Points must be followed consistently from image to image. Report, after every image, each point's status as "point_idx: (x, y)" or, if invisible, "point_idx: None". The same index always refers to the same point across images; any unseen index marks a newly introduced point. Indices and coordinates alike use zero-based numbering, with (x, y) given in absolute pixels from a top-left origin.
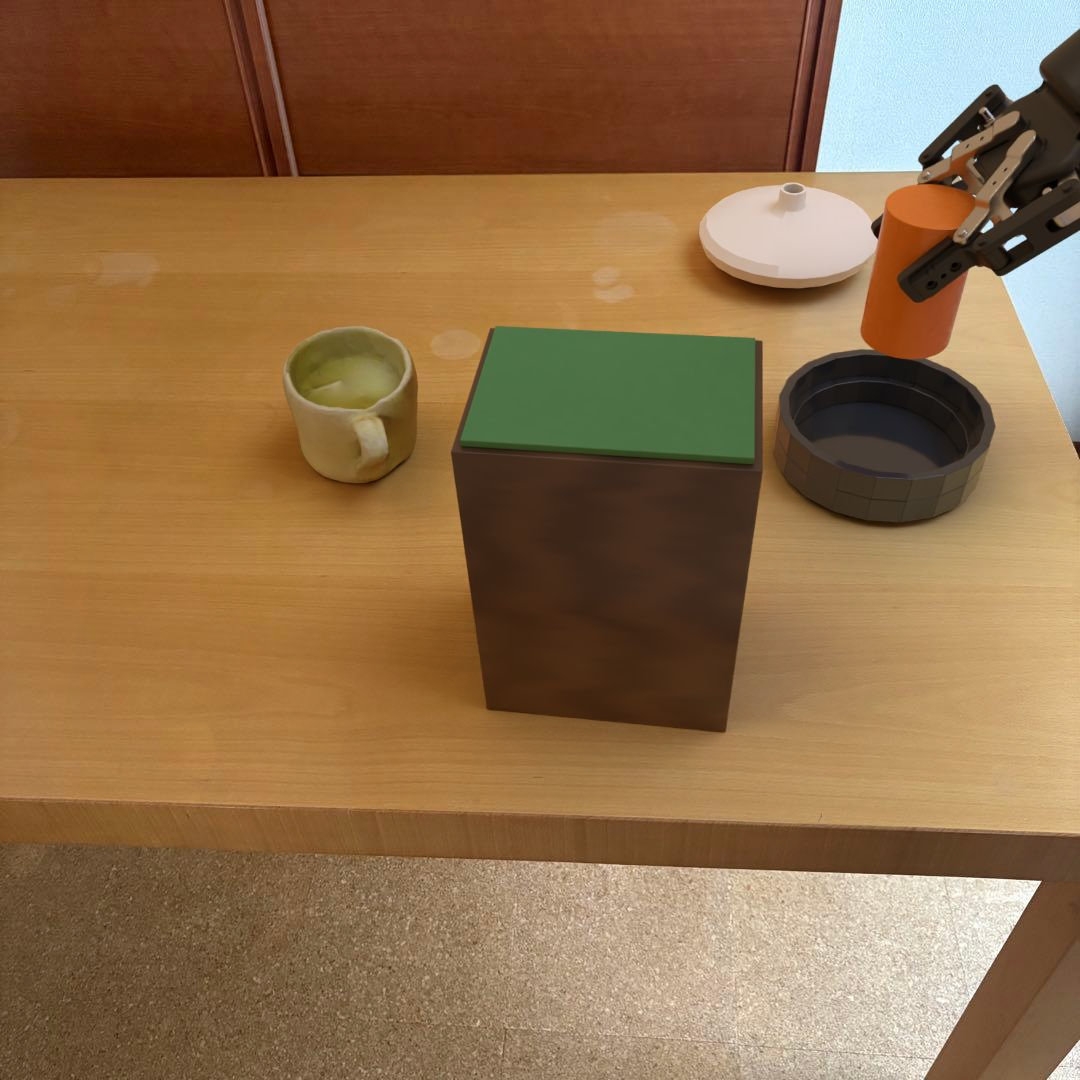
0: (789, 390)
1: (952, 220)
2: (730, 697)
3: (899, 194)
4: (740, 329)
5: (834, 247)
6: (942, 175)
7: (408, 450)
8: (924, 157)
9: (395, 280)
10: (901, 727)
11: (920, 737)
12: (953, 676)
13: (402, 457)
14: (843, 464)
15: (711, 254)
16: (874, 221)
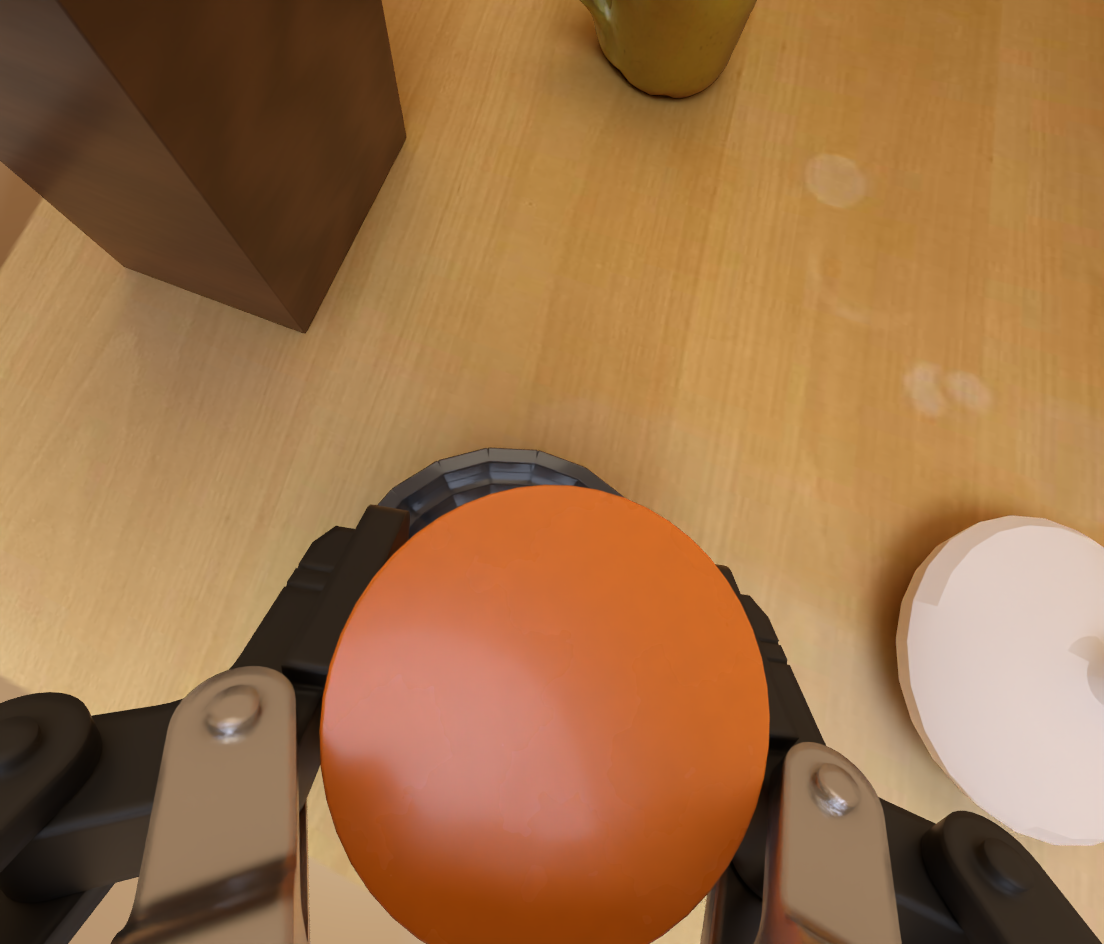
0: (589, 484)
1: (398, 731)
2: (73, 223)
3: (696, 593)
4: (823, 531)
5: (982, 723)
6: (776, 856)
7: (632, 73)
8: (979, 846)
9: (975, 147)
10: (48, 446)
11: (25, 461)
12: (93, 539)
13: (623, 67)
14: (399, 496)
15: (988, 520)
16: (727, 571)
